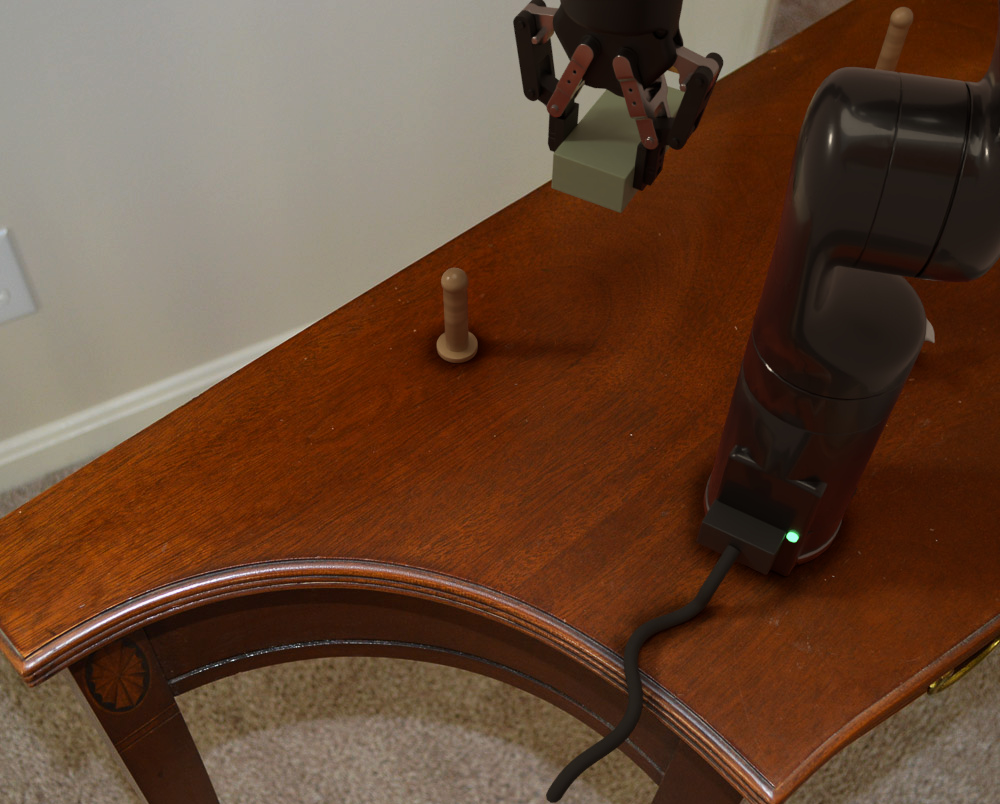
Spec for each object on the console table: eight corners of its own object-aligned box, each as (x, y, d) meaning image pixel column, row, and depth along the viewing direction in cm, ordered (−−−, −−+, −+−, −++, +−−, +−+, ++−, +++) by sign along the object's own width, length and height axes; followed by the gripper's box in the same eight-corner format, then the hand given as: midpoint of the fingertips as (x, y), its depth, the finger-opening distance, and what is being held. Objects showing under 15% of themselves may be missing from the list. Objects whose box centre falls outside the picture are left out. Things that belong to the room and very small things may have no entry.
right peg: (890, 100, 104) (916, 22, 97) (857, 90, 105) (882, 11, 98) (900, 83, 106) (927, 5, 99) (869, 73, 107) (893, -5, 100)
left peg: (464, 369, 84) (461, 293, 77) (429, 353, 85) (423, 276, 78) (485, 342, 85) (484, 266, 79) (450, 327, 86) (447, 250, 80)
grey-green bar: (624, 215, 76) (629, 179, 73) (547, 187, 77) (549, 152, 75) (716, 89, 84) (722, 54, 81) (645, 67, 86) (649, 31, 83)
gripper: (487, -74, 63) (488, 167, 77) (718, -7, 59) (675, 234, 73) (547, -129, 67) (538, 110, 81) (768, -69, 63) (718, 171, 77)
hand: (603, 168), depth 77 cm, fingers closed on grey-green bar, 5 cm apart
